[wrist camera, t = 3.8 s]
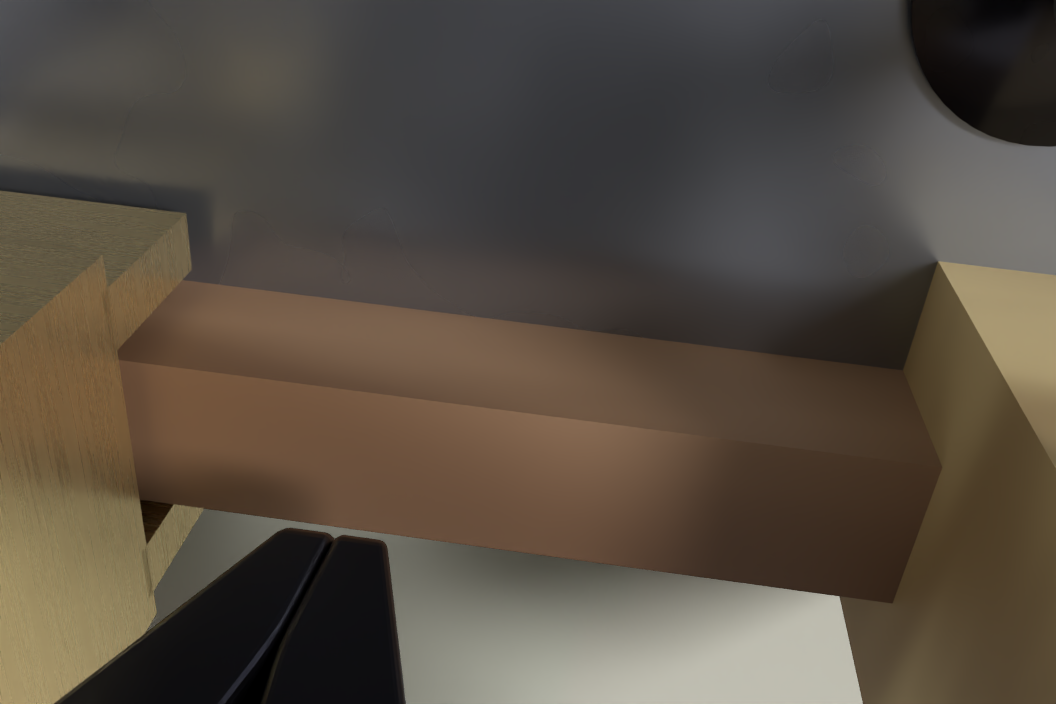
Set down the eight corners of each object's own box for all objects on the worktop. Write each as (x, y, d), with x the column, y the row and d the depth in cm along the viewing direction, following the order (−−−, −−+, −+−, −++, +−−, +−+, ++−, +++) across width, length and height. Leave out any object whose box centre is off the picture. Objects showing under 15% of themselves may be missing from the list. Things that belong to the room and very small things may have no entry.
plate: (1186, 560, 12) (1239, 640, 11) (-784, 297, 14) (-913, 344, 12) (1684, -335, 8) (1862, -352, 6) (-1377, -591, 9) (-1667, -643, 8)
